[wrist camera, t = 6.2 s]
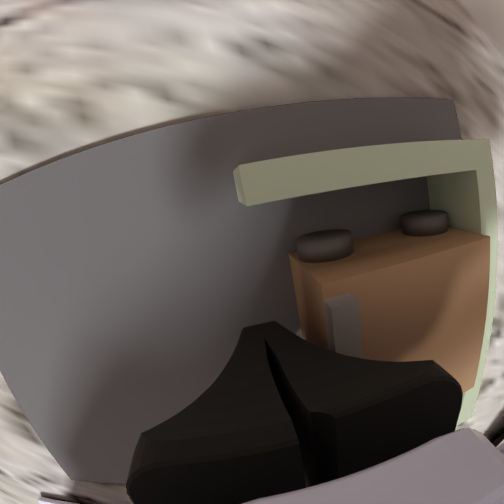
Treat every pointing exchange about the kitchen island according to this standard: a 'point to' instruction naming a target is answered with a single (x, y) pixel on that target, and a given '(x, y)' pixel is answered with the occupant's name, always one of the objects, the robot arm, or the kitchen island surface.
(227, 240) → the rubber mat
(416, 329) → the block
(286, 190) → the sage bay
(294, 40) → the kitchen island surface
